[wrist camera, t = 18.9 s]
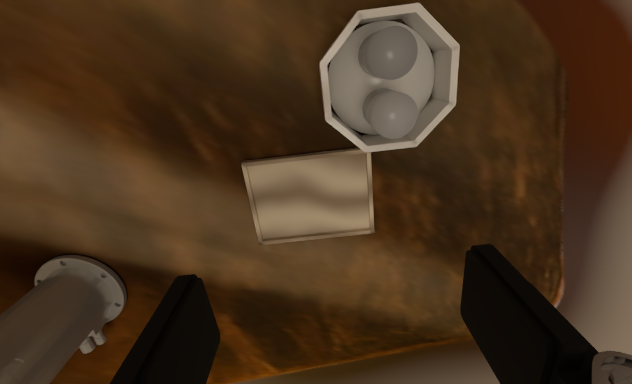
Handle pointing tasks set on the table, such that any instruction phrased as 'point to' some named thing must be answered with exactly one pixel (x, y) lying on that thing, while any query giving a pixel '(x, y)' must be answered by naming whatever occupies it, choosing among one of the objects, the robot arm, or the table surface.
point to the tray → (310, 195)
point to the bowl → (419, 83)
